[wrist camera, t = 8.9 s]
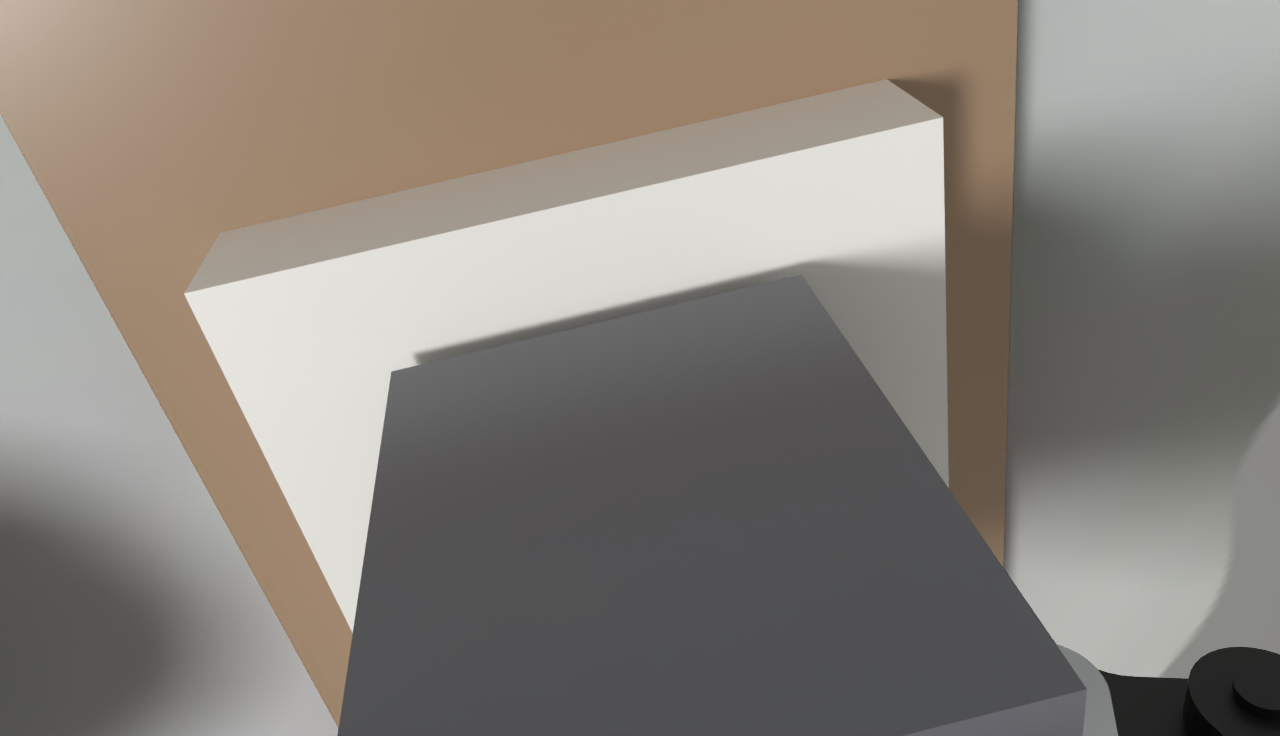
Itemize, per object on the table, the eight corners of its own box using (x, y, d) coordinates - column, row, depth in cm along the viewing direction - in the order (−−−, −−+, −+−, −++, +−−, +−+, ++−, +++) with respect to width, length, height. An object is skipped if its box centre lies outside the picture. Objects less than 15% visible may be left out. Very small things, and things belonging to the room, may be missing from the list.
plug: (398, 319, 14) (315, 884, 7) (771, 231, 14) (1087, 688, 7) (518, 645, 18) (549, 1236, 10) (812, 572, 18) (1045, 1104, 10)
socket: (-23, -44, 13) (-173, 2, 10) (972, -264, 13) (1115, -281, 10) (397, 768, 22) (385, 916, 19) (971, 625, 23) (1045, 749, 20)
